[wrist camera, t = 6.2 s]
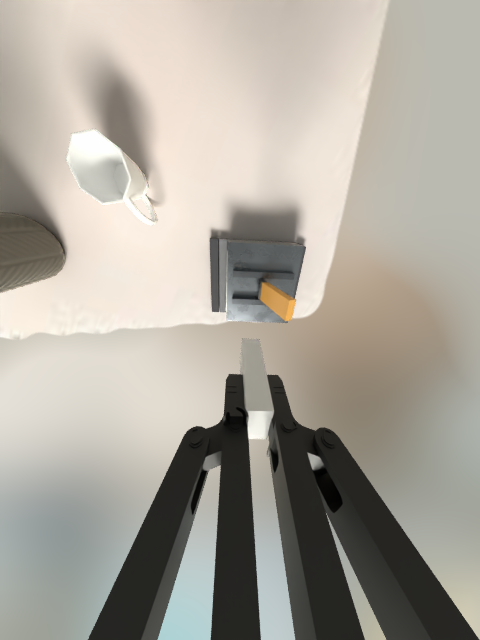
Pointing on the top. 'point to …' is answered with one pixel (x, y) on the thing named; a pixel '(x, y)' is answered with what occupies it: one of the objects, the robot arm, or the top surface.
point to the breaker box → (259, 276)
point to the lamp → (27, 252)
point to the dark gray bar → (299, 272)
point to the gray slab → (218, 272)
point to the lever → (276, 300)
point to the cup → (107, 172)
